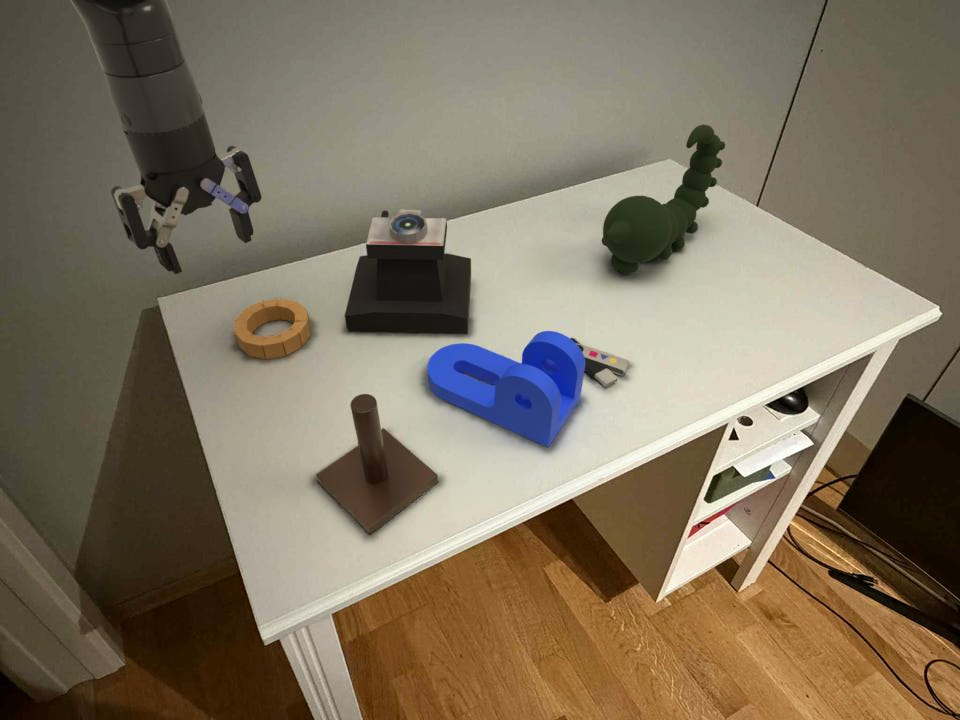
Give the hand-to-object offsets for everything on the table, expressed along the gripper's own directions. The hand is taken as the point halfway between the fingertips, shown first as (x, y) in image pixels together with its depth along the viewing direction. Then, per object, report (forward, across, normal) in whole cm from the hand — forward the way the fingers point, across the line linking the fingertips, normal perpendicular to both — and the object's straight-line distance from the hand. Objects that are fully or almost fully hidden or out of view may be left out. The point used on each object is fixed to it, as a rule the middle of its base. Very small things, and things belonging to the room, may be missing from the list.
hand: (210, 254), depth 72 cm
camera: (+15, -22, +8) cm, 28 cm away
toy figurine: (+15, -55, +25) cm, 62 cm away
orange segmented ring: (+14, -4, +1) cm, 15 cm away
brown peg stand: (+14, +1, +29) cm, 32 cm away
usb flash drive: (+14, -30, +34) cm, 47 cm away
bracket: (+15, -17, +29) cm, 37 cm away
